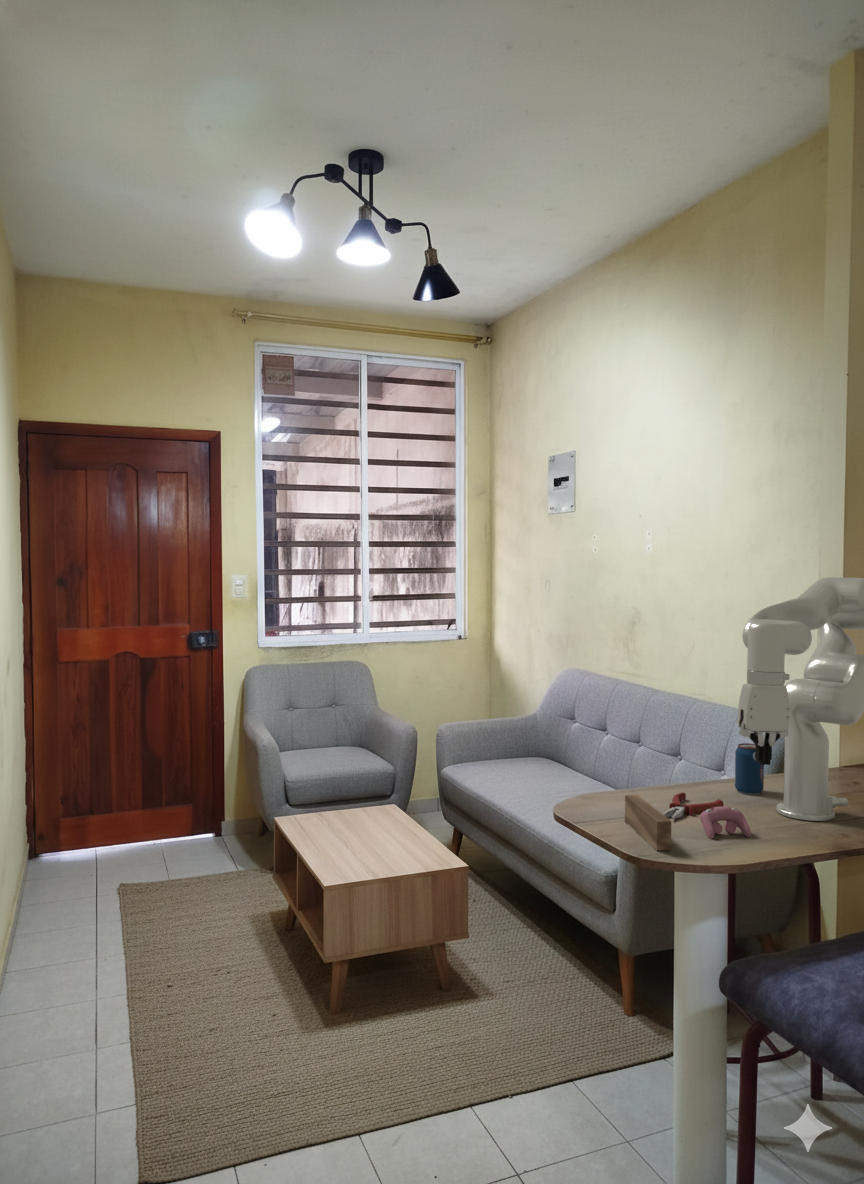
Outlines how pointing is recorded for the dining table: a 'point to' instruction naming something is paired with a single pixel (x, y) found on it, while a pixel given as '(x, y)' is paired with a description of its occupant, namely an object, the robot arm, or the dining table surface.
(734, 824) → the video game controller
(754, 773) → the soda can
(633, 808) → the bar
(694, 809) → the pliers
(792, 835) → the dining table surface
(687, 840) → the dining table surface
